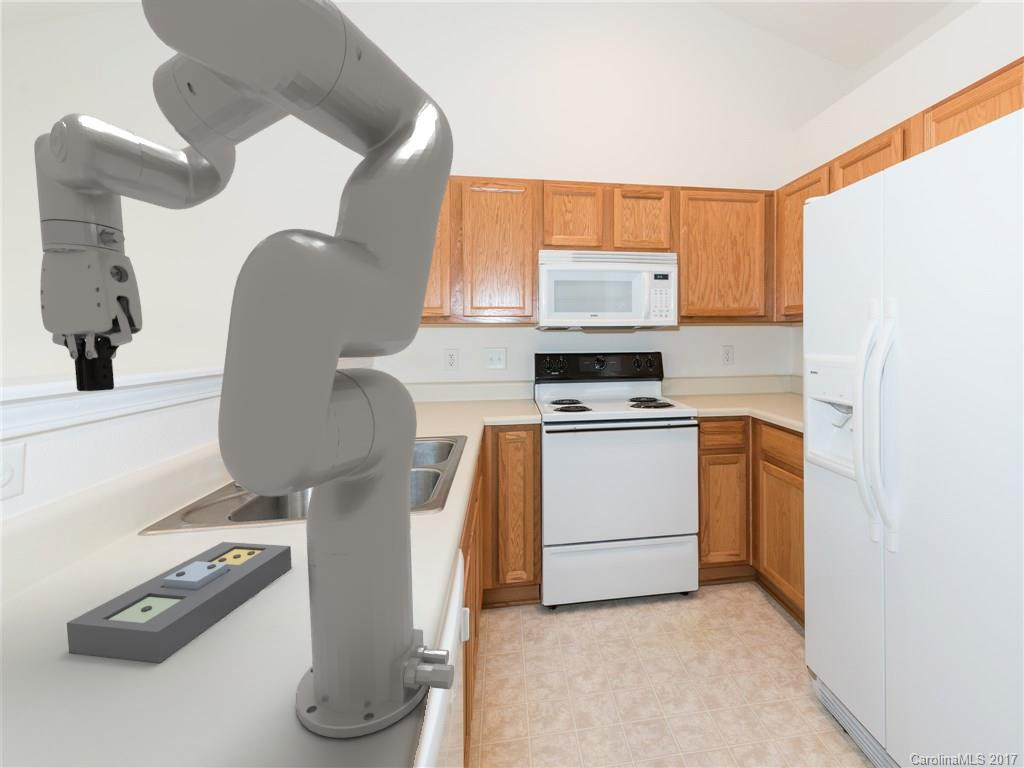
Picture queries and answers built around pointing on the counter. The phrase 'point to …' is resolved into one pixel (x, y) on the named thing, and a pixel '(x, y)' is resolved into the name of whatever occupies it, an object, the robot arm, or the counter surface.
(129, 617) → the tile one
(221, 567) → the tile two
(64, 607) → the counter surface
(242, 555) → the tile three
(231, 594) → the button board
